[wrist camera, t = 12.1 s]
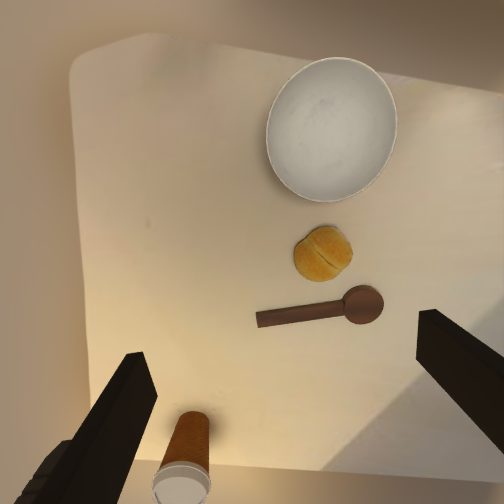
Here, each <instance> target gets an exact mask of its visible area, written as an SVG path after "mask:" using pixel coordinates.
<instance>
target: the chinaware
mask: <svg viewBox="0 0 504 504" xmlns="http://www.w3.org/2000/svg"><path fill="white" fill-rule="evenodd" d="M396 135H397V111H396V106H395V102H394V99H393V96H392V94H391V91H390V89H389V88H388V86H387V84H386V83H385V81H384V80H383V79H382V78H381V76H380V75H379V74H378V73H377V72H376V71H374V70H373V69H372V68H371V67H369V66H367V65H366V64H364V63H362V62H360V61H357V60H354V59H350V58H344V57H331V58H325V59H321V60H318V61H315V62H313V63H310V64H308V65H306V66H305V67H303V68H302V69H300V70H299V71H297V72H296V73H295V74H294V75H293V76H292V77H291V78H289V80H288V81H287V82H286V83H285V84H284V85H283V87H282V88H281V89H280V91H279V92H278V94H277V96H276V98H275V100H274V102H273V104H272V106H271V109H270V112H269V115H268V120H267V125H266V148H267V153H268V157H269V160H270V163H271V166H272V168H273V170H274V172H275V173H276V175H277V177H278V178H279V179H280V181H281V182H282V183H283V184H284V185H285V186H286V187H287V188H288V189H289V190H291V191H292V192H293V193H295V194H297V195H298V196H300V197H303V198H305V199H308V200H311V201H316V202H335V201H340V200H344V199H347V198H349V197H352V196H354V195H356V194H357V193H359V192H361V191H362V190H364V189H365V188H366V187H368V186H369V185H370V184H371V183H372V182H373V181H374V180H375V179H376V178H377V177H378V176H379V174H380V173H381V172H382V170H383V169H384V167H385V166H386V164H387V162H388V160H389V158H390V156H391V154H392V151H393V148H394V145H395V140H396Z"/></svg>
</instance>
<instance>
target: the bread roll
mask: <svg viewBox="0 0 504 504" xmlns="http://www.w3.org/2000/svg"><path fill="white" fill-rule="evenodd" d="M352 256H353V252H352V249H351V246H350V243H349V242H348V241H347V239H346V238H345V237H344V236H343V235H342V233H341V232H340V231H339V230H338V229H337V228H336V227H321V228H319V229H316V230H315V231H313V232H312V233H311V234H310V235H309V236H308V237H307V238H306V239H305V240H303V241H301V242H300V243H299V244H298V245H297V246H296V248H295V252H294V261H295V265H296V268H297V270H298V272H299V273H300V274H301V275H302V276H303V277H305V278H306V279H308V280H311V281H315V282H322V281H327V280H331V279H333V278H334V277H336V276H337V275H338V274H339V273H340V272H341V271H342V270H344V269H345V268H346V267H347V266H348V265H349V263H350V262H351V260H352Z"/></svg>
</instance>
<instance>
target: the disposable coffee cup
mask: <svg viewBox="0 0 504 504" xmlns="http://www.w3.org/2000/svg"><path fill="white" fill-rule="evenodd" d="M210 489H211V481H210V477H209V420H208V418H207V417H206V416H205V415H204V414H202V413H199V412H187V413H185V414H183V415H182V416H181V417H180V418H179V420H178V423H177V425H176V428H175V430H174V433H173V435H172V438H171V440H170V443H169V445H168V448H167V450H166V453H165V455H164V458H163V460H162V463H161V466H160V468H159V470H158V471H157V473H156V474H155V475H154V478H153V480H152V497H153V500H154V502H155V503H156V504H204V502H205V501H206V498H207V495H208V493H209V492H210Z"/></svg>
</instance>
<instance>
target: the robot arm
mask: <svg viewBox="0 0 504 504" xmlns="http://www.w3.org/2000/svg"><path fill="white" fill-rule="evenodd" d="M416 360H417V361H418V362H419V363H420V364H421V365H422V366H423V367H424V368H425V370H426V371H427V372H428V373H429V374H430V375H431V376H432V377H433V378H434V379H435V380H436V381H437V383H438V384H439V385H440V386H441V387H442V388H443V389H444V390H445V391H446V392H447V393H448V394H449V396H450V397H451V398H452V399H453V400H454V401H455V402H456V403H457V404H458V405H459V406H460V407H461V409H462V410H463V411H464V412H465V413H466V414H467V415H468V416H469V417H470V418H471V419H472V420H473V422H474V423H475V424H476V425H477V426H478V427H479V428H480V429H481V430H482V431H483V432H484V433H485V434H486V436H487V437H488V438H489V439H490V440H491V441H492V442H493V443H494V444H495V445H496V446H497V447H498V449H499V450H500V451H501V452H502V453H503V454H504V357H502V356H501V355H500V354H498V353H497V352H495V351H494V350H493V349H491V348H490V347H488V346H487V345H486V344H484V343H483V342H481V341H480V340H478V339H477V338H476V337H474V336H473V335H471V334H470V333H469V332H467V331H466V330H464V329H463V328H462V327H460V326H459V325H457V324H456V323H455V322H453V321H452V320H450V319H449V318H448V317H446V316H445V315H443V314H442V313H441V312H439V311H438V310H436V309H431V310H424V311H419V320H418V335H417V351H416ZM157 397H158V395H157V392H156V390H155V387H154V384H153V381H152V378H151V375H150V372H149V369H148V366H147V363H146V360H145V357H144V354H143V352H136V353H129V354H126V356H125V357H124V359H123V361H122V362H121V364H120V365H119V367H118V368H117V370H116V371H115V373H114V375H113V376H112V378H111V379H110V381H109V382H108V384H107V386H106V387H105V389H104V390H103V392H102V393H101V395H100V396H99V398H98V400H97V401H96V403H95V404H94V406H93V407H92V409H91V411H90V412H89V414H88V416H87V417H86V418H85V420H84V421H83V423H82V425H81V426H80V428H79V429H78V431H77V433H76V434H75V436H74V437H73V439H72V440H66V441H62V442H61V443H60V444H59V445H58V446H57V447H56V448H55V449H54V450H53V451H52V452H51V453H50V454H49V455H48V456H47V457H46V458H45V459H44V461H43V462H42V464H41V465H40V466H39V468H38V469H37V471H36V472H35V474H34V475H33V478H32V480H30V481H29V482H28V484H27V485H26V487H25V488H24V490H23V491H22V494H21V496H19V497H18V498H17V500H16V501H15V503H14V504H117V502H118V499H119V497H120V494H121V491H122V489H123V486H124V484H125V481H126V478H127V475H128V473H129V470H130V468H131V465H132V462H133V460H134V457H135V455H136V452H137V449H138V447H139V444H140V442H141V439H142V436H143V434H144V431H145V428H146V426H147V423H148V421H149V418H150V415H151V413H152V410H153V407H154V405H155V402H156V400H157Z"/></svg>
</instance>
